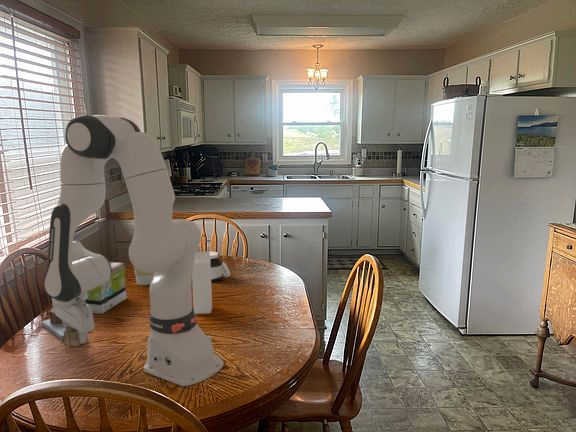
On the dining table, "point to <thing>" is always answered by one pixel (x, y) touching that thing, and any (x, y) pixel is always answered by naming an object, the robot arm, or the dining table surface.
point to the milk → (202, 283)
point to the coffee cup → (143, 277)
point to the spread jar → (217, 267)
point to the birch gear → (72, 337)
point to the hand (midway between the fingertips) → (75, 336)
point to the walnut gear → (54, 318)
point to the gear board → (54, 328)
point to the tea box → (108, 291)
